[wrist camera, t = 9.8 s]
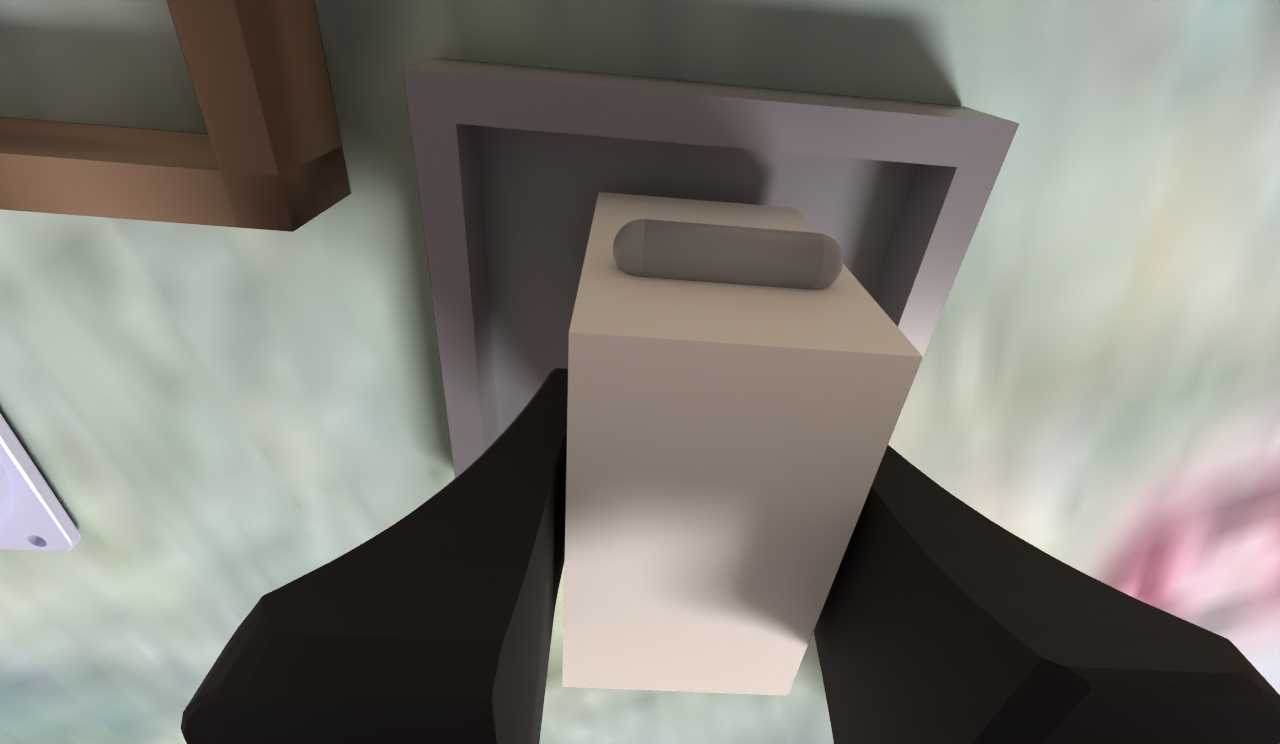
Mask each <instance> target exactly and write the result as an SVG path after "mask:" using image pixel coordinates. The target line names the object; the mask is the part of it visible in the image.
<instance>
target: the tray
mask: <svg viewBox="0 0 1280 744" xmlns="http://www.w3.org/2000/svg"><path fill="white" fill-rule="evenodd" d="M403 74H404V82H405V90H406V97H407V105H408V113H409V121H410V129H411V136H412V144H413V152H414V160H415V168H416V176H417V183H418V191H419V199H420V207H421V215H422V222H423V230H424V238H425V246H426V254H427V261H428V269H429V277H430V285H431V293H432V300H433V308H434V316H435V324H436V332H437V340H438V347H439V355H440V363H441V371H442V379H443V386H444V394H445V402H446V410H447V418H448V425H449V433H450V441H451V449H452V457H453V464H454V472H455V478H457V477H458V476H459V475H460V474H461V473H462V472H464V471H465V470H466V469H467V468H468V467H469V466H470V465H471V464H472V463H473V462H475V461H476V460H477V459H478V458H479V457H480V456H481V455H482V454H483V453H484V452H485V451H486V450H487V449H488V448H489V447H490V446H491V445H492V444H493V443H494V442H495V441H496V439H497V438H498V437H499V436H500V435H501V434H502V433H503V432H504V431H505V430H506V429H507V428H508V427H509V426H510V424H511V423H512V422H513V421H514V420H515V419H516V417H517V416H518V415H519V414H520V413H521V411H522V410H523V409H524V408H525V407H526V406H527V404H528V403H529V402H530V400H531V399H532V398H533V396H534V395H535V394H536V392H537V391H538V390H539V388H540V387H541V386H542V384H543V383H544V381H545V380H546V378H547V377H548V375H549V373H550V372H551V371H553V370H554V369H555V368H563V369H568V351H569V329H570V324H571V320H572V315H573V310H574V306H575V301H576V296H577V292H578V287H579V282H580V277H581V273H582V268H583V263H584V259H585V254H586V249H587V245H588V240H589V235H590V231H591V226H592V221H593V217H594V212H595V207H596V203H597V198H598V193H599V192H607V193H619V194H632V195H644V196H656V197H668V198H681V199H693V200H705V201H717V202H730V203H742V204H754V205H767V206H779V207H791V208H796V209H797V210H798V211H799V212H800V213H801V215H802V216H803V217H804V218H805V219H806V221H807V222H808V223H809V224H810V225H811V226H812V228H813V229H814V230H815V231H816V232H817V233H821V234H825V235H827V236H829V237H831V238H832V239H834V240H835V241H836V242H837V243H838V245H839V246H840V248H841V250H842V254H843V264H844V265H845V266H846V267H847V268H848V270H849V271H850V272H851V273H852V274H853V275H854V277H855V278H856V279H857V280H858V281H859V282H860V284H861V285H862V286H863V287H864V288H865V290H866V291H867V292H868V293H869V294H870V295H871V297H872V298H873V299H874V300H875V301H876V302H877V304H878V305H879V306H880V307H881V308H882V309H883V311H884V312H885V313H886V314H887V315H888V316H889V318H890V319H891V320H892V321H893V322H894V323H895V325H896V326H897V327H898V328H899V329H900V330H901V332H902V333H903V334H904V335H905V336H906V337H907V339H908V340H909V341H910V342H911V343H912V344H913V346H914V347H915V348H916V349H917V350H918V351H919V353H920V354H921V355H922V356H923V355H924V353H925V351H926V348H927V346H928V343H929V341H930V338H931V336H932V334H933V331H934V329H935V326H936V324H937V321H938V319H939V317H940V314H941V312H942V309H943V307H944V305H945V302H946V300H947V297H948V295H949V292H950V290H951V288H952V285H953V283H954V280H955V278H956V275H957V273H958V271H959V268H960V266H961V263H962V261H963V259H964V256H965V254H966V251H967V249H968V246H969V244H970V242H971V239H972V237H973V234H974V232H975V229H976V227H977V225H978V222H979V220H980V217H981V215H982V213H983V210H984V208H985V205H986V203H987V200H988V198H989V196H990V193H991V191H992V188H993V186H994V183H995V181H996V179H997V176H998V174H999V171H1000V169H1001V167H1002V164H1003V162H1004V159H1005V157H1006V154H1007V152H1008V150H1009V147H1010V145H1011V142H1012V140H1013V137H1014V135H1015V133H1016V130H1017V128H1018V125H1019V124H1018V123H1015V122H1012V121H1009V120H1006V119H1002V118H999V117H996V116H993V115H989V114H986V113H983V112H980V111H977V110H973V109H970V108H967V107H963V106H953V105H942V104H931V103H920V102H909V101H898V100H887V99H876V98H865V97H854V96H844V95H833V94H822V93H811V92H800V91H789V90H778V89H767V88H756V87H745V86H735V85H724V84H713V83H702V82H691V81H680V80H669V79H658V78H647V77H636V76H626V75H615V74H604V73H593V72H582V71H571V70H560V69H549V68H538V67H527V66H517V65H506V64H495V63H484V62H473V61H462V60H451V59H440V58H437V59H434V60H430V61H426V62H423V63H419V64H415V65H411V66H408V67H404V68H403Z"/></svg>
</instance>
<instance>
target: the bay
mask: <svg viewBox="0 0 1280 744" xmlns="http://www.w3.org/2000/svg"><path fill="white" fill-rule="evenodd" d="M167 3H168V7H169V10H170V13H171V16H172V20H173V23H174V26H175V29H176V32H177V36H178V39H179V42H180V45H181V49H182V52H183V55H184V58H185V62H186V65H187V68H188V71H189V74H190V78H191V81H192V84H193V87H194V91H195V94H196V97H197V100H198V103H199V107H200V110H201V113H202V116H203V120H204V123H205V126H206V129H207V132H208V134H196V133H184V132H172V131H160V130H148V129H136V128H125V127H113V126H101V125H89V124H77V123H65V122H53V121H41V120H29V119H17V118H5V117H0V209H4V210H17V211H30V212H43V213H56V214H69V215H82V216H96V217H109V218H122V219H135V220H148V221H161V222H174V223H187V224H201V225H214V226H227V227H240V228H253V229H266V230H279V231H295V230H296V229H298V228H299V227H301V226H302V225H304V224H305V223H307V222H308V221H310V220H311V219H313V218H315V217H316V216H318V215H319V214H321V213H322V212H324V211H325V210H327V209H328V208H330V207H331V206H333V205H334V204H336V203H337V202H339V201H340V200H342V199H343V198H345V197H346V196H348V195H349V194H351V191H350V186H349V181H348V176H347V171H346V165H345V160H344V155H343V150H342V145H341V139H340V134H339V129H338V124H337V119H336V113H335V108H334V103H333V98H332V93H331V87H330V82H329V77H328V72H327V67H326V61H325V56H324V51H323V46H322V41H321V35H320V30H319V25H318V20H317V15H316V9H315V4H314V0H167Z"/></svg>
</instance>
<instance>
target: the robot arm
mask: <svg viewBox="0 0 1280 744" xmlns="http://www.w3.org/2000/svg"><path fill="white" fill-rule="evenodd" d="M567 406H568V369H563V368H555V369H554V370H553V371H551V372H550V373H549V375H548V377H547V378H546V380H545V381H544V383H543V384H542V386H541V387H540V388H539V390H538V391H537V392H536V394H535V395H534V396H533V398H532V399H531V400H530V402H529V403H528V404H527V406H526V407H525V408H524V409H523V410H522V411H521V413H520V414H519V415H518V416H517V417H516V419H515V420H514V421H513V422H512V423H511V424H510V426H509V427H508V428H507V429H506V430H505V431H504V432H503V433H502V434H501V435H500V436H499V437H498V438H497V439H496V441H495V442H494V443H493V444H492V445H491V446H490V447H489V448H488V449H487V450H486V451H485V452H484V453H483V454H482V455H481V456H480V457H479V458H478V459H477V460H476V461H475V462H473V463H472V464H471V465H470V466H469V467H468V468H467V469H466V470H465V471H464V472H462V473H461V474H460V475H459V476H458V477H457V478H455V479H454V480H453V481H452V482H451V483H449V484H448V485H447V486H446V487H445V488H443V489H442V490H441V491H439V492H438V493H437V494H435V495H434V496H433V497H432V498H430V499H429V500H428V501H426V502H425V503H424V504H422V505H421V506H420V507H418V508H417V509H416V510H414V511H413V512H411V513H410V514H409V515H407V516H406V517H404V518H403V519H401V520H400V521H398V522H397V523H396V524H394V525H392V526H391V527H389V528H388V529H386V530H384V531H383V532H381V533H380V534H378V535H376V536H375V537H373V538H372V539H370V540H368V541H366V542H365V543H363V544H361V545H360V546H358V547H356V548H355V549H353V550H351V551H349V552H348V553H346V554H344V555H342V556H340V557H339V558H337V559H335V560H333V561H331V562H329V563H327V564H325V565H323V566H322V567H320V568H318V569H316V570H314V571H312V572H310V573H308V574H306V575H304V576H302V577H300V578H298V579H296V580H294V581H292V582H290V583H288V584H286V585H284V586H282V587H280V588H278V589H276V590H274V591H272V592H270V593H268V594H266V595H263V596H262V597H261V599H260V600H259V602H258V603H257V604H256V606H255V607H254V608H253V610H252V611H251V612H250V613H249V615H248V616H247V617H246V618H245V620H244V621H243V622H242V623H241V625H240V626H239V627H238V629H237V630H236V632H235V633H234V634H233V636H232V637H231V639H230V640H229V642H228V643H227V645H226V646H225V648H224V649H223V651H222V652H221V654H220V656H219V657H218V659H217V660H216V662H215V663H214V665H213V666H212V668H211V670H210V671H209V673H208V674H207V676H206V677H205V679H204V681H203V682H202V684H201V685H200V687H199V688H198V690H197V692H196V693H195V695H194V696H193V698H192V699H191V701H190V703H189V704H188V706H187V707H186V709H185V710H184V712H183V717H182V724H181V730H182V733H183V736H184V738H185V740H186V743H187V744H539V740H540V731H541V722H542V713H543V704H544V696H545V687H546V678H547V669H548V661H549V652H550V644H551V635H552V627H553V618H554V611H555V605H556V599H557V593H558V588H559V583H560V579H561V574H562V569H563V565H564V560H565V516H566V461H567ZM80 540H81V536H80V533H79V531H78V530H77V528H76V527H75V525H74V524H73V522H72V521H71V519H70V518H69V516H68V515H67V513H66V512H65V510H64V509H63V507H62V506H61V504H60V503H59V501H58V500H57V498H56V497H55V495H54V494H53V492H52V491H51V489H50V488H49V486H48V485H47V483H46V481H45V480H44V478H43V477H42V475H41V474H40V472H39V471H38V469H37V468H36V466H35V465H34V463H33V462H32V460H31V459H30V457H29V456H28V454H27V453H26V451H25V450H24V448H23V447H22V445H21V444H20V442H19V441H18V439H17V438H16V436H15V435H14V433H13V432H12V430H11V429H10V427H9V426H8V424H7V423H6V421H5V420H4V418H3V417H2V415H1V414H0V549H19V550H40V551H60V552H61V551H69V550H71V549H72V548H73V547H74V546H75V545H77V544H78V543H79V542H80ZM814 636H815V641H816V646H817V651H818V656H819V661H820V666H821V671H822V676H823V682H824V687H825V693H826V699H827V704H828V710H829V716H830V721H831V727H832V733H833V740H834V744H1280V695H1279V694H1278V693H1277V692H1276V691H1275V689H1274V688H1273V687H1272V686H1271V685H1270V684H1269V683H1268V682H1267V681H1266V680H1265V678H1264V677H1263V676H1262V675H1261V674H1260V673H1259V672H1258V671H1257V670H1256V668H1255V667H1254V666H1253V665H1252V664H1251V663H1250V662H1249V661H1248V660H1247V659H1246V657H1245V656H1244V655H1243V654H1242V653H1241V652H1240V651H1239V650H1238V649H1237V648H1236V647H1235V645H1234V644H1233V643H1232V642H1230V641H1229V640H1228V639H1226V638H1224V637H1222V636H1220V635H1217V634H1215V633H1213V632H1210V631H1208V630H1206V629H1203V628H1201V627H1199V626H1197V625H1194V624H1192V623H1190V622H1187V621H1185V620H1183V619H1181V618H1178V617H1176V616H1174V615H1171V614H1169V613H1167V612H1165V611H1162V610H1160V609H1158V608H1155V607H1153V606H1151V605H1148V604H1146V603H1144V602H1142V601H1139V600H1137V599H1135V598H1133V597H1131V596H1129V595H1127V594H1125V593H1123V592H1120V591H1118V590H1116V589H1114V588H1112V587H1110V586H1108V585H1106V584H1104V583H1102V582H1100V581H1098V580H1096V579H1094V578H1092V577H1090V576H1088V575H1086V574H1084V573H1082V572H1080V571H1078V570H1076V569H1075V568H1073V567H1071V566H1069V565H1067V564H1065V563H1063V562H1061V561H1059V560H1058V559H1056V558H1054V557H1052V556H1050V555H1048V554H1047V553H1045V552H1043V551H1041V550H1040V549H1038V548H1036V547H1034V546H1033V545H1031V544H1029V543H1028V542H1026V541H1024V540H1022V539H1021V538H1019V537H1017V536H1015V535H1014V534H1012V533H1010V532H1009V531H1007V530H1005V529H1004V528H1002V527H1000V526H999V525H997V524H996V523H994V522H992V521H991V520H989V519H988V518H986V517H985V516H983V515H982V514H980V513H979V512H977V511H976V510H974V509H973V508H971V507H970V506H968V505H967V504H965V503H964V502H962V501H961V500H959V499H958V498H956V497H955V496H953V495H952V494H950V493H949V492H948V491H946V490H945V489H944V488H942V487H941V486H939V485H938V484H937V483H935V482H934V481H933V480H931V479H930V478H929V477H928V476H926V475H925V474H924V473H922V472H921V471H920V470H919V469H917V468H916V467H915V466H913V465H912V464H911V463H910V462H908V461H907V460H906V459H905V458H903V457H902V456H901V455H900V454H899V453H897V452H896V451H895V450H894V449H893V448H891V447H890V446H889V445H887V448H886V450H885V453H884V455H883V458H882V460H881V463H880V465H879V468H878V470H877V473H876V475H875V478H874V480H873V483H872V486H871V488H870V491H869V493H868V496H867V498H866V501H865V503H864V506H863V508H862V511H861V513H860V516H859V518H858V521H857V523H856V526H855V528H854V531H853V533H852V536H851V538H850V541H849V543H848V546H847V548H846V551H845V553H844V556H843V558H842V561H841V563H840V566H839V568H838V571H837V573H836V576H835V578H834V581H833V583H832V586H831V588H830V591H829V593H828V596H827V598H826V601H825V603H824V606H823V608H822V611H821V614H820V616H819V619H818V621H817V624H816V626H815V629H814Z"/></svg>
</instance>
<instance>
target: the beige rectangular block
mask: <svg viewBox="0 0 1280 744" xmlns="http://www.w3.org/2000/svg"><path fill="white" fill-rule="evenodd" d="M922 358H923V356H922V355H921V354H920V353H919V351H918V350H917V349H916V348H915V347H914V346H913V344H912V343H911V342H910V341H909V340H908V339H907V337H906V336H905V335H904V334H903V333H902V332H901V330H900V329H899V328H898V327H897V326H896V325H895V323H894V322H893V321H892V320H891V319H890V318H889V316H888V315H887V314H886V313H885V312H884V311H883V309H882V308H881V307H880V306H879V305H878V304H877V302H876V301H875V300H874V299H873V298H872V297H871V295H870V294H869V293H868V292H867V291H866V290H865V288H864V287H863V286H862V285H861V284H860V282H859V281H858V280H857V279H856V278H855V277H854V275H853V274H852V273H851V272H850V271H849V270H848V268H847V267H846V266H845V265H844V264H843V254H842V250H841V248H840V246H839V245H838V243H837V242H836V241H835V240H834V239H832V238H831V237H829V236H827V235H825V234H821V233H817V232H816V231H815V230H814V229H813V228H812V226H811V225H810V224H809V223H808V222H807V221H806V219H805V218H804V217H803V216H802V215H801V213H800V212H799V211H798V210H797V209H796V208H791V207H779V206H767V205H754V204H742V203H730V202H717V201H705V200H693V199H681V198H668V197H656V196H644V195H632V194H619V193H607V192H599V193H598V198H597V203H596V207H595V212H594V217H593V221H592V226H591V231H590V235H589V240H588V245H587V249H586V254H585V259H584V263H583V268H582V273H581V277H580V282H579V287H578V292H577V296H576V301H575V306H574V310H573V315H572V320H571V324H570V329H569V351H568V406H567V461H566V516H565V571H564V626H563V681H562V687H583V688H608V689H634V690H660V691H686V692H712V693H738V694H763V695H788V694H789V691H790V689H791V686H792V684H793V681H794V679H795V676H796V674H797V671H798V669H799V666H800V664H801V661H802V659H803V656H804V654H805V651H806V649H807V646H808V644H809V641H810V639H811V636H812V634H813V631H814V629H815V626H816V624H817V621H818V619H819V616H820V614H821V611H822V608H823V606H824V603H825V601H826V598H827V596H828V593H829V591H830V588H831V586H832V583H833V581H834V578H835V576H836V573H837V571H838V568H839V566H840V563H841V561H842V558H843V556H844V553H845V551H846V548H847V546H848V543H849V541H850V538H851V536H852V533H853V531H854V528H855V526H856V523H857V521H858V518H859V516H860V513H861V511H862V508H863V506H864V503H865V501H866V498H867V496H868V493H869V491H870V488H871V486H872V483H873V480H874V478H875V475H876V473H877V470H878V468H879V465H880V463H881V460H882V458H883V455H884V453H885V450H886V448H887V445H888V443H889V440H890V438H891V435H892V433H893V430H894V428H895V425H896V423H897V420H898V418H899V415H900V413H901V410H902V408H903V405H904V403H905V400H906V398H907V395H908V393H909V390H910V388H911V385H912V383H913V380H914V378H915V375H916V373H917V370H918V368H919V365H920V363H921V360H922Z"/></svg>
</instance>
